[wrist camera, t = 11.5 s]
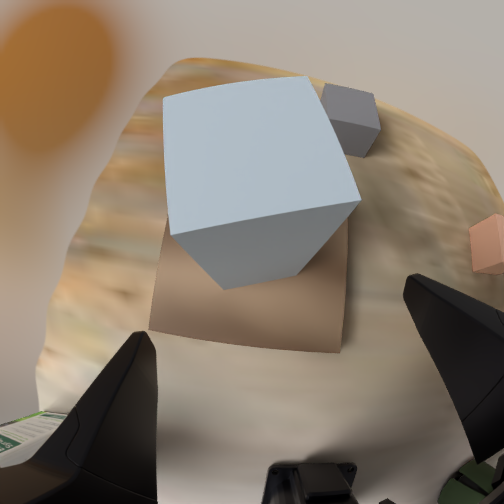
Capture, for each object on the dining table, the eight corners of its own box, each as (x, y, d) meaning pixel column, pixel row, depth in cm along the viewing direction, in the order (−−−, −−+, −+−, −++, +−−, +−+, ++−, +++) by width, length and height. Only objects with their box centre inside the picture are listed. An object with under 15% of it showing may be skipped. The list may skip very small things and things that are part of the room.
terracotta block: (496, 275, 18) (524, 266, 14) (472, 272, 18) (502, 262, 14) (492, 234, 19) (518, 221, 15) (468, 228, 19) (495, 213, 15)
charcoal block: (363, 158, 20) (381, 129, 17) (317, 150, 21) (327, 118, 17) (359, 123, 21) (373, 93, 17) (316, 115, 21) (325, 83, 18)
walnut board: (334, 351, 17) (339, 353, 16) (154, 329, 17) (148, 329, 16) (342, 185, 20) (347, 177, 18) (185, 168, 20) (181, 160, 19)
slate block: (296, 275, 17) (361, 200, 6) (223, 290, 17) (170, 235, 6) (280, 208, 18) (307, 75, 7) (211, 221, 18) (163, 97, 7)
